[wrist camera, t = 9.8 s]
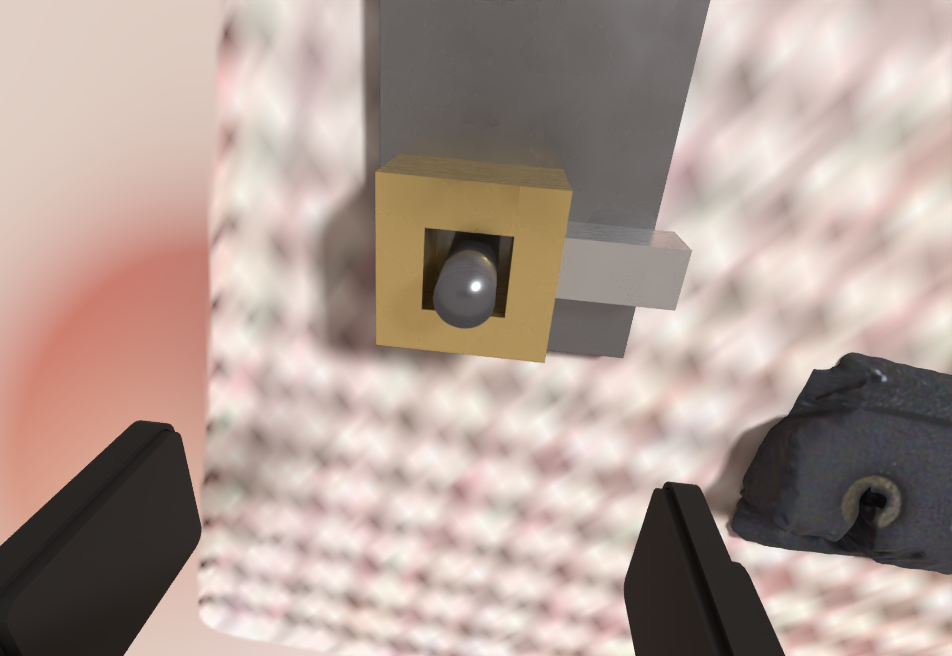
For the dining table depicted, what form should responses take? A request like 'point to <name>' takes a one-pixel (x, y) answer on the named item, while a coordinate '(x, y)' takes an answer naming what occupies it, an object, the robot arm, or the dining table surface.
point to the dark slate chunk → (858, 468)
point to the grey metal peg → (468, 280)
